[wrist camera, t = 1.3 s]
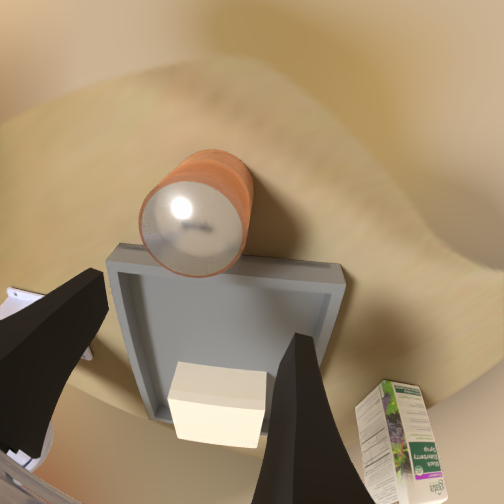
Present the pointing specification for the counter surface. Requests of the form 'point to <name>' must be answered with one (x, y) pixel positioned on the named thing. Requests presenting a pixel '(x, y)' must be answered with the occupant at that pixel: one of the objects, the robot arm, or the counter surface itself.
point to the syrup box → (399, 447)
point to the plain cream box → (217, 404)
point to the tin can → (199, 215)
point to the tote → (218, 317)
